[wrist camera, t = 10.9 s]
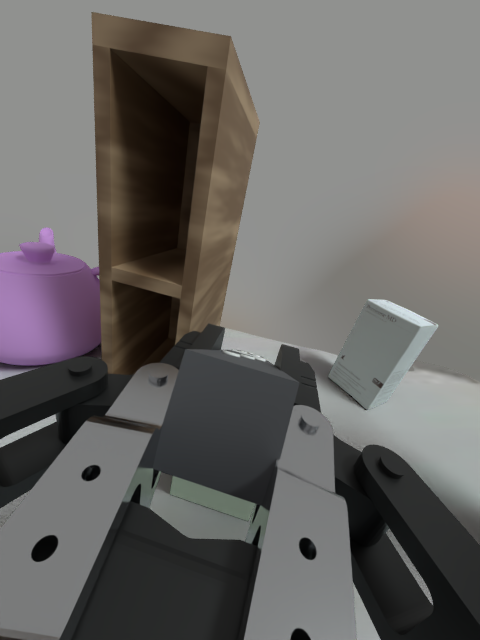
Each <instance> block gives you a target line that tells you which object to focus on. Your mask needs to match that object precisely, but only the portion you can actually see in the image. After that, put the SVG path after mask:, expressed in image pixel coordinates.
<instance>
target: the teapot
mask: <svg viewBox="0 0 480 640" xmlns="http://www.w3.org/2000/svg"><path fill="white" fill-rule="evenodd" d="M53 237H54V236H53V231H52V229H50V228H43V229H42V230H41V231H40V235H39V242H25V243H22V244H20V245H19V246H20V248H21V250H22V251H14V252H5V253H0V362H1V363H6V364H12V365H26V366H28V365H45V364H52V363H58V362H61V361H64V360H68V359H71V358H75V357H79V356H81V355H83V354H86V353H88V352H89V351H91V350H93V349H94V348H96V347H97V346H98V345H99V344H100V343H101V313H100V280H99V279H98V278H97V275H99V267H96V268H93V269H90V268H89V266H88V265H87V264H86V263H85V262H83V261H82V260H80V259H78V258H76V257H73V256H69V255H65V254H59V253H56V249H55V245H54V238H53Z"/></svg>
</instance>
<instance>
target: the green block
mask: <svg viewBox="0 0 480 640" xmlns="http://www.w3.org/2000/svg"><path fill="white" fill-rule="evenodd" d="M170 495H173V496H176V497H179V498H182V499H185V500H188V501H191V502H194V503H196V504H199V505H202V506H205V507H208V508H211V509H214V510H217V511H220V512H223V513H225V514H228V515H231V516H234V517H237V518H240V519H243V520H246V521H249V518H250V516H251V513H252V511H253V508H254V506H255V503H252V502H249V501H246V500H243V499H240V498H237V497H234V496H231V495H228V494H225V493H222V492H219V491H217V490H214V489H211V488H208V487H205V486H202V485H199V484H196V483H193V482H190V481H187V480H184V479H181V478H178V477H175V476H173V477H172V483H171V490H170Z"/></svg>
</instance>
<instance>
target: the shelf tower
mask: <svg viewBox="0 0 480 640" xmlns="http://www.w3.org/2000/svg"><path fill="white" fill-rule="evenodd" d="M92 43H93V76H94V77H93V78H94V111H95V144H96V177H97V209H98V210H97V212H98V243H99V244H98V246H99V278H100V279H99V280H100V313H101V347H102V360H103V361H104V362H105V363H106V364H107V366H108V374H123V375H134V374H135V373H136V371H137V370H138V369H140V368H141V367H143V366H145V365H147V364H151V363H159V362H160V361H161V360H162V359H163V358H164V357H165V356H166V355H167V353H168V352H169V351H170V350H171V349H172V348H173V347H174V346H175V345H176V343H177V342H179V340H180V339H181V338H182V337H183V336H184V335H185V334H187V333H189V332H191V331H197V332H202V331H203V330H204V328H205V327H206V326H207V324H208V323H209V324H213V325H216V326H220V321H221V316H222V311H223V306H224V301H225V296H226V291H227V285H228V280H229V275H230V270H231V265H232V260H233V255H234V250H235V245H236V240H237V234H238V230H239V224H240V219H241V214H242V209H243V204H244V199H245V194H246V189H247V184H248V179H249V174H250V169H251V164H252V159H253V154H254V149H255V143H256V138H257V133H258V128H259V123H260V122H259V119H258V116H257V113H256V110H255V107H254V104H253V101H252V98H251V96H250V92H249V89H248V86H247V83H246V80H245V77H244V74H243V71H242V68H241V65H240V62H239V59H238V56H237V53H236V50H235V47H234V44H233V41H232V39H231V36H226V35H220V34H214V33H209V32H203V31H196V30H191V29H186V28H180V27H174V26H169V25H163V24H157V23H152V22H146V21H140V20H134V19H128V18H123V17H117V16H111V15H106V14H99V13H94V12H92Z"/></svg>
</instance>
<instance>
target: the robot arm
mask: <svg viewBox="0 0 480 640" xmlns="http://www.w3.org/2000/svg"><path fill="white" fill-rule="evenodd" d="M224 332H225V328H224V327H220V326H216V325H213V324H209V323H208V324H207V326H206V327H205V328H204V330H203V331H202V332H197V331H191V332H189V333H187V334H185V335H184V336H183V337H182V338H181V339H180V340H179V342H177V343H176V345H175V346H174V347H173V348H172V349H171V350H170V351H169V352H168V353H167V355H166V356H165V357H164V358H163V359H162V360H161V361H160V362H159V363H151V364H147V365H145V366H143V367H141V368H140V369H138V370H137V371H136V373H135V374H134V375H123V374H108V366H107V364H106V363H105V362H104V361H103V360H101V359H99V358H95V357H75V358H71V359H68V360H64V361H61V362H58V363H54V364H51V365H48V366H45V367H41V368H38V369H35V370H31V371H28V372H25V373H22V374H18V375H15V376H12V377H8V378H5V379H2V380H0V439H2V438H3V437H5V436H7V435H9V434H11V433H13V432H16V431H18V430H20V429H22V428H25V427H27V426H29V425H31V424H34V423H36V422H38V421H41V420H43V419H45V418H47V417H50V416H52V415H54V414H56V420H57V422H55V423H53V424H51V425H48V426H46V427H44V428H42V429H40V430H38V431H36V432H33V433H31V434H29V435H27V436H25V437H23V438H20V439H18V440H16V441H14V442H12V443H10V444H8V445H5V446H3V447H1V448H0V508H1V507H3V506H5V505H6V504H8V503H10V502H11V501H13V500H14V499H16V498H18V497H19V496H21V495H23V494H24V493H26V492H28V491H29V490H31V491H30V492H29V493H28V494H27V496H26V497H25V498H24V499H23V501H22V502H21V503H20V505H19V506H18V507H17V508H16V510H15V511H14V512H13V513H12V515H11V516H10V517H9V518H8V520H7V521H6V522H5V523H4V525H3V526H2V527H1V528H0V640H357V634H356V620H355V607H354V593H353V582H354V585H355V587H356V589H357V591H358V593H359V595H360V597H361V599H362V601H363V603H364V605H365V608H366V610H367V612H368V614H369V616H370V618H371V620H372V622H373V624H374V626H375V628H376V631H377V633H378V635H379V637H380V639H381V640H480V545H479V544H478V543H477V542H476V541H475V539H474V538H473V537H472V536H471V535H470V534H469V533H468V531H467V530H466V529H465V528H464V527H463V526H462V525H461V523H460V522H459V521H458V520H457V519H456V518H455V517H454V516H453V514H452V513H451V512H450V511H449V510H448V509H447V508H446V506H445V505H444V504H443V503H442V502H441V501H440V500H439V498H438V497H437V496H436V495H435V494H434V493H433V492H432V491H431V489H430V488H429V487H428V486H427V485H426V484H425V483H424V481H423V480H422V479H421V478H420V477H419V476H418V475H417V474H416V472H415V471H414V470H413V469H412V468H411V467H410V466H409V465H408V463H407V462H406V461H405V460H403V459H402V458H401V457H400V456H399V455H397V454H396V453H394V452H393V451H391V450H389V449H387V448H385V447H382V446H379V445H368V446H366V447H365V448H364V449H363V451H362V452H360V451H358V450H357V449H355V448H353V447H351V446H350V445H348V444H346V443H344V442H343V441H341V440H340V439H338V438H337V437H336V436H334V435H333V428H332V426H331V424H330V422H329V421H328V419H327V418H326V417H325V416H324V415H323V414H322V413H321V410H320V404H319V398H318V391H317V385H316V382H315V381H316V379H315V373H314V371H313V369H312V368H311V366H310V365H309V364H308V363H305V362H302V361H300V356H299V349H297V348H294V347H290V346H287V345H283V344H282V345H281V347H280V350H279V353H278V356H277V359H276V362H275V365H274V366H275V367H277V368H278V369H279V370H281V371H283V372H285V373H286V374H288V375H289V376H291V377H292V378H293V379H295V380H296V381H298V382H299V387H298V391H297V395H296V399H295V402H294V406H293V410H292V414H291V418H290V422H289V426H288V430H287V434H286V438H285V442H284V446H283V449H282V453H281V457H280V459H276V462H275V465H274V468H273V471H272V474H271V478H270V481H269V484H268V487H267V490H266V493H265V496H264V499H263V502H262V505H258V504H255V506H254V510H253V514H252V518H251V522H250V526H249V529H248V533H247V536H246V540H245V542H244V541H241V540H222V539H191V538H188V537H186V536H184V535H183V534H181V533H180V532H179V531H177V530H176V529H175V528H174V527H172V526H171V525H170V524H168V523H167V522H166V521H165V520H163V519H162V518H161V517H159V516H158V515H157V514H156V513H154V512H153V511H152V510H150V504H151V501H152V498H153V494H154V492H155V489H156V486H157V483H158V480H159V477H160V474H161V471H158V470H155V469H152V468H153V464H154V459H155V455H156V451H157V447H158V443H159V438H160V434H161V430H162V426H163V420H164V417H165V414H166V411H167V407H168V404H169V401H170V398H171V394H172V391H173V388H174V385H175V381H176V378H177V375H178V372H179V368H180V365H181V362H182V359H183V355H184V352H185V349H204V350H221V346H222V341H223V337H224ZM389 528H390V530H391V531H392V533H393V534H394V536H395V537H396V539H397V540H398V542H399V543H400V545H401V546H402V548H403V549H404V551H405V552H406V554H407V555H408V557H409V558H410V560H411V562H412V563H413V565H414V566H415V568H416V569H417V571H418V572H419V574H420V575H421V577H422V578H423V580H424V581H425V583H426V585H427V587H428V589H429V591H430V593H431V596H432V600H433V605H432V604H431V603H430V602H429V600H428V599H427V597H426V596H425V594H424V592H423V591H422V589H421V588H420V586H419V585H418V583H417V581H416V580H415V578H414V577H413V575H412V574H411V572H410V571H409V569H408V567H407V566H406V564H405V563H404V561H403V560H402V558H401V556H400V555H399V553H398V552H397V550H396V549H395V547H394V545H393V544H392V542H391V541H390V539H389V538H388V536H387V535H386V532H387V531H388V529H389Z"/></svg>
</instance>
